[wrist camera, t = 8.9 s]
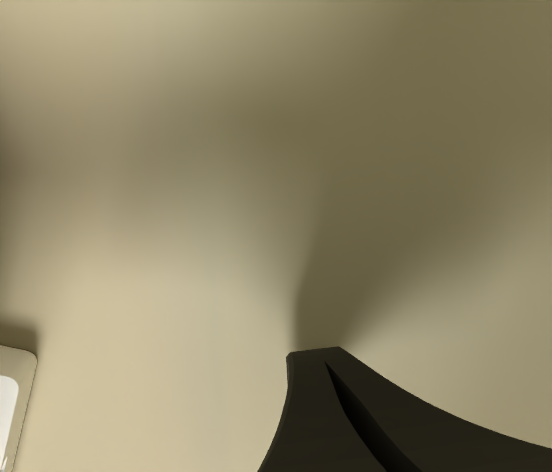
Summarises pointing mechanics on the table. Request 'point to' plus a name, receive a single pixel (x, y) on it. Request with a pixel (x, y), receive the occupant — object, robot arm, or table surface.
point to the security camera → (13, 399)
